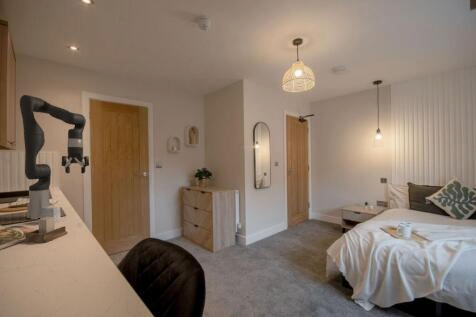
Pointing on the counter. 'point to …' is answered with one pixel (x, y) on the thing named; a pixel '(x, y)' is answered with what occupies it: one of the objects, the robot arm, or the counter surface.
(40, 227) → the clay bar
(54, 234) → the slot stand
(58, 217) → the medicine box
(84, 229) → the counter surface
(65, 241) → the counter surface
